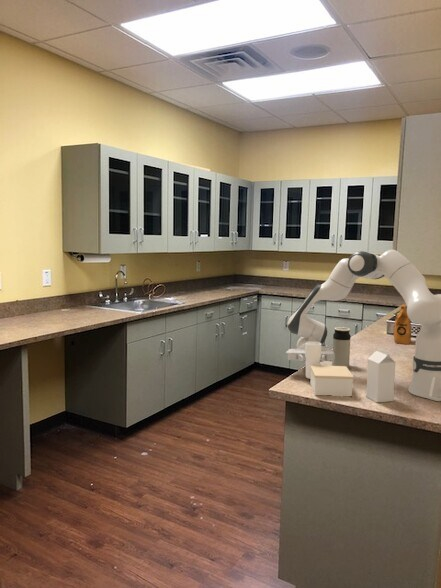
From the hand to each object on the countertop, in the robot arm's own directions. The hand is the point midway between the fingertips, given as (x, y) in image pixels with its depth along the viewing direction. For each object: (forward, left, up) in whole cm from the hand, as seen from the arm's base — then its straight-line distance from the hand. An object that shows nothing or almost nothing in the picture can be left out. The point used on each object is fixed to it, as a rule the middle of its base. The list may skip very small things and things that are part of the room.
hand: (312, 359), depth 196 cm
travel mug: (-17, -26, -10) cm, 32 cm away
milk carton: (-23, +20, -10) cm, 32 cm away
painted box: (-6, +12, -9) cm, 16 cm away
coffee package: (-63, -82, -10) cm, 104 cm away
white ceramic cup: (0, -1, -8) cm, 8 cm away
